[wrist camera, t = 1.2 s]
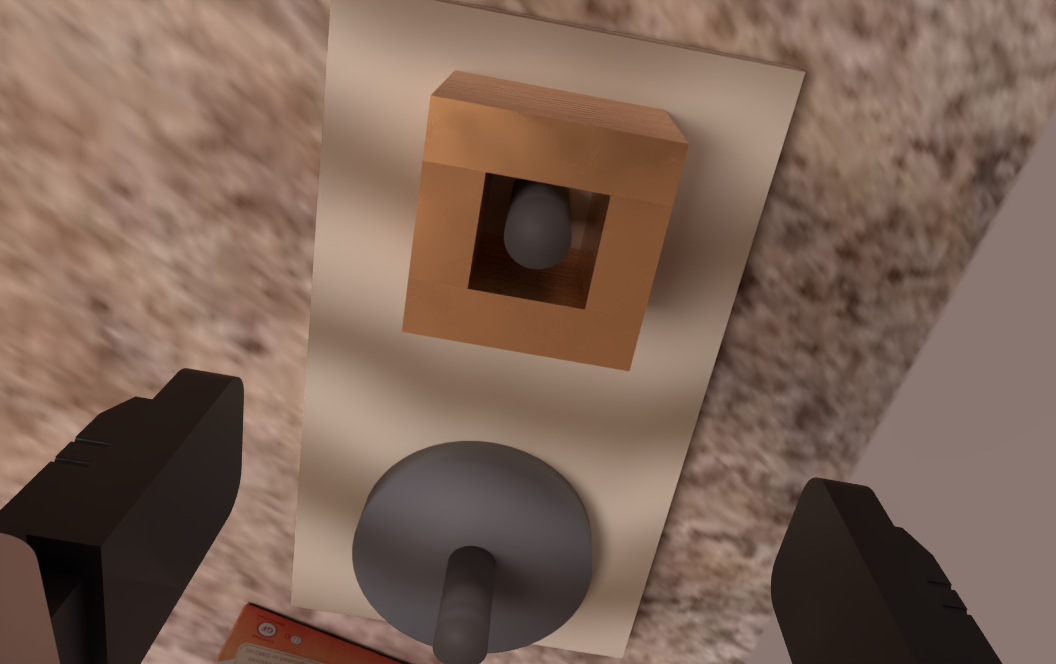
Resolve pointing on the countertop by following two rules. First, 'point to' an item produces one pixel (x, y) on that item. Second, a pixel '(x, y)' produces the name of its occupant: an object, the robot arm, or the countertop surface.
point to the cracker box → (287, 643)
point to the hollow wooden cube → (555, 158)
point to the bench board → (501, 375)
